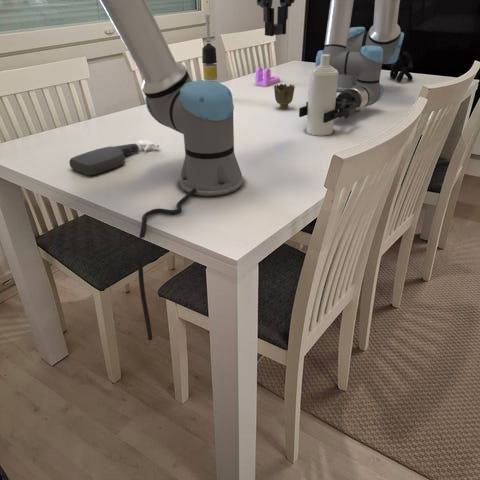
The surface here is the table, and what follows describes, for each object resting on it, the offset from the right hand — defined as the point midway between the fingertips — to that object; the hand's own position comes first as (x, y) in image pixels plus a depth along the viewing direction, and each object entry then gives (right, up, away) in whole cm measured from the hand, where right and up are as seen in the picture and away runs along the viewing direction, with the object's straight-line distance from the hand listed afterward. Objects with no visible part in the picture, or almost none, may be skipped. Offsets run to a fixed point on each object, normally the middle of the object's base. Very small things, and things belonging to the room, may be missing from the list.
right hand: (312, 115), depth 137 cm
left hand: (-13, +17, -17) cm, 27 cm away
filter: (-34, +18, +42) cm, 57 cm away
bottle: (+3, -3, +6) cm, 8 cm away
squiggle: (+50, +34, +64) cm, 88 cm away
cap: (-13, +19, -18) cm, 29 cm away
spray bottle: (-56, -16, -12) cm, 60 cm away
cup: (-6, +11, +29) cm, 31 cm away
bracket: (-9, +33, +64) cm, 72 cm away
